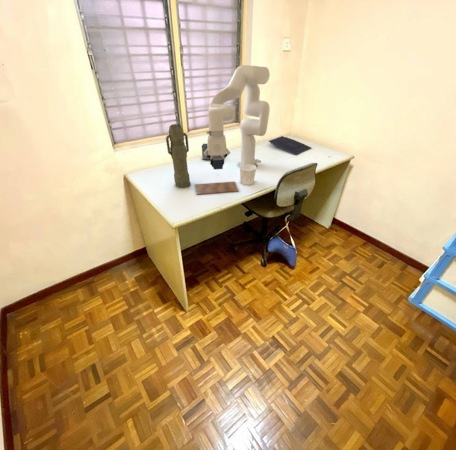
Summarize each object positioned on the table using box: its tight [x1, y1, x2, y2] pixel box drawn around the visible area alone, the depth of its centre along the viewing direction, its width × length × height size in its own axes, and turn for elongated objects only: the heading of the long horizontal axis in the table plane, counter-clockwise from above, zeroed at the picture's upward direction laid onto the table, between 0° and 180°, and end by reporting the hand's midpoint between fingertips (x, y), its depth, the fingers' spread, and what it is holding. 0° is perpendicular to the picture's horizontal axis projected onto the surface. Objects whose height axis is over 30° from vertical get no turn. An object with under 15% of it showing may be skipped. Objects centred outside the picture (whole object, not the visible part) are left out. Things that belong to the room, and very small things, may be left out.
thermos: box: [165, 123, 191, 189], centre depth 143 cm, size 9×12×35 cm
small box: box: [201, 143, 210, 161], centre depth 185 cm, size 11×6×10 cm, turn 84°
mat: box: [195, 181, 239, 196], centre depth 150 cm, size 24×12×1 cm, turn 101°
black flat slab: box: [268, 135, 312, 156], centre depth 210 cm, size 24×30×4 cm
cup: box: [239, 164, 257, 186], centre depth 154 cm, size 10×10×10 cm
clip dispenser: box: [212, 155, 224, 170], centre depth 141 cm, size 5×8×6 cm, turn 10°
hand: (217, 165), depth 143 cm, fingers closed on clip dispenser, 5 cm apart
